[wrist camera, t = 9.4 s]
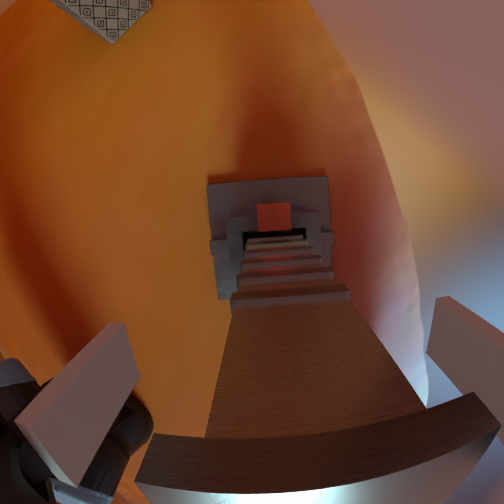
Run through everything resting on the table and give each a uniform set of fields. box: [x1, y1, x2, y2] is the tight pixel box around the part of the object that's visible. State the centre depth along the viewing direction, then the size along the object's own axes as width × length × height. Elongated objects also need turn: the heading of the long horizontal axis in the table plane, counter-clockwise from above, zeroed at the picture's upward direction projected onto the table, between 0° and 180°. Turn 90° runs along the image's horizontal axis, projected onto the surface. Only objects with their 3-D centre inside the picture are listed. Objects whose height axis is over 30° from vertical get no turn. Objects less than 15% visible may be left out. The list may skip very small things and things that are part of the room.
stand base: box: [206, 176, 334, 300], centre depth 28 cm, size 14×14×13 cm
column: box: [134, 232, 502, 504], centre depth 14 cm, size 5×5×23 cm
